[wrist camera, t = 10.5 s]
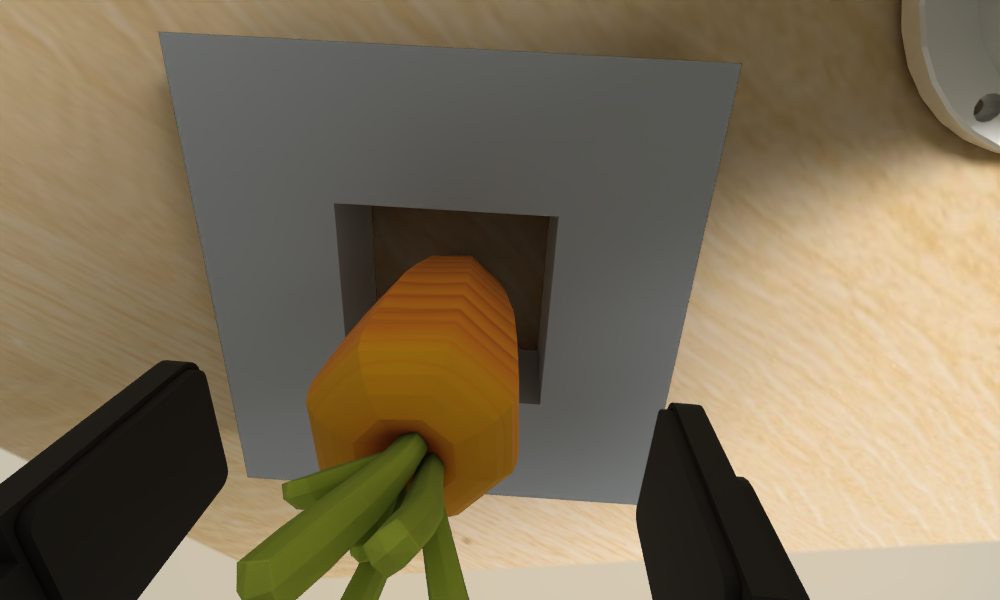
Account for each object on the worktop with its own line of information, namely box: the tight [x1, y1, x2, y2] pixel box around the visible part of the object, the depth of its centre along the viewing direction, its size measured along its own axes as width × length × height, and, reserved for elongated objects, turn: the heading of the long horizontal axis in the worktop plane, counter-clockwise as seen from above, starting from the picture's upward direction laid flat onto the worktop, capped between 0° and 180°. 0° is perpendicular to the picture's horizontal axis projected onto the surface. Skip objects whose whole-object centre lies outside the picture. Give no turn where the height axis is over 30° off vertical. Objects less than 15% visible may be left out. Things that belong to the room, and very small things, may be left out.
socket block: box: [158, 32, 742, 505], centre depth 19 cm, size 16×16×4 cm
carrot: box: [237, 256, 519, 600], centre depth 14 cm, size 5×5×15 cm
